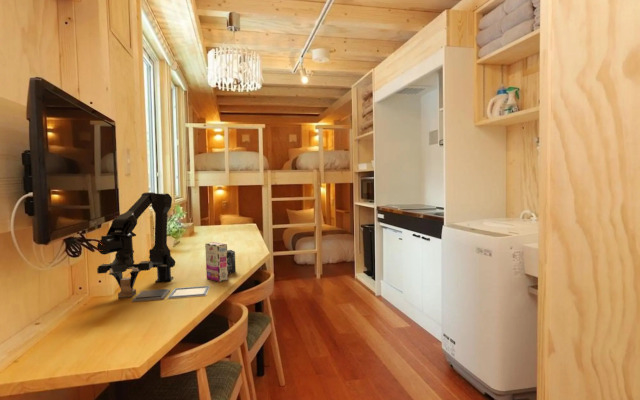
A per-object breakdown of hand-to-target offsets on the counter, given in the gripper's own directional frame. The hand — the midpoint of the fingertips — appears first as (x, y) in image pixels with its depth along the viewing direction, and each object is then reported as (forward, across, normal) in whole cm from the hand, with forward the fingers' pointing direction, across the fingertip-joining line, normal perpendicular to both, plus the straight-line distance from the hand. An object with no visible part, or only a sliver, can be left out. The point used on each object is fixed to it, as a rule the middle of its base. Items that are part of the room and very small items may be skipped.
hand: (126, 288), depth 144 cm
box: (+3, +36, +27) cm, 45 cm away
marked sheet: (+3, +24, -2) cm, 24 cm away
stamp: (+3, 0, 0) cm, 3 cm away
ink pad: (+3, +10, -3) cm, 11 cm away
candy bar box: (+3, +33, +16) cm, 37 cm away
